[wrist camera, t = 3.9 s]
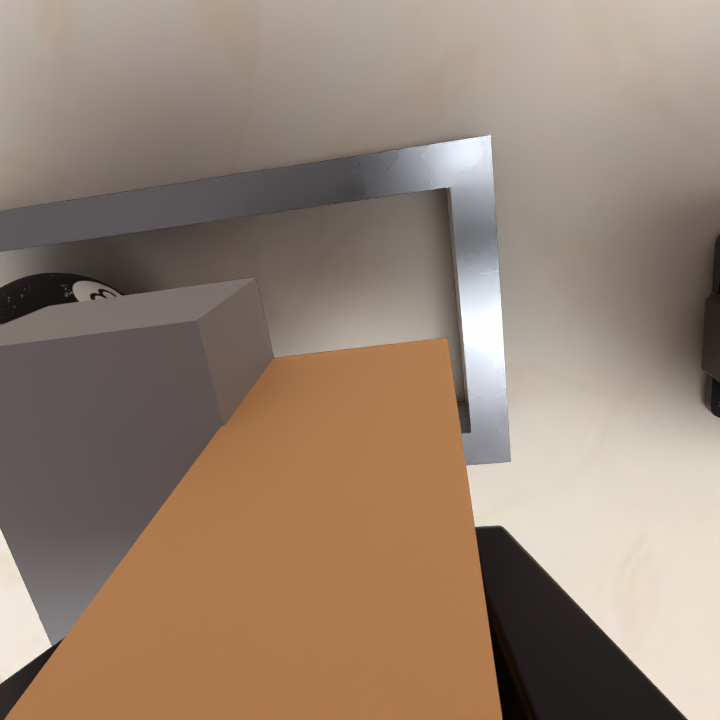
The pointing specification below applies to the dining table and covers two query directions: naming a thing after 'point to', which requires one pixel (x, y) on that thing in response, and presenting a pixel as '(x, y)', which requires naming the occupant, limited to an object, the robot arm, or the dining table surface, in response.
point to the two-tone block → (238, 518)
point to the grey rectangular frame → (323, 187)
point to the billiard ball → (49, 293)
